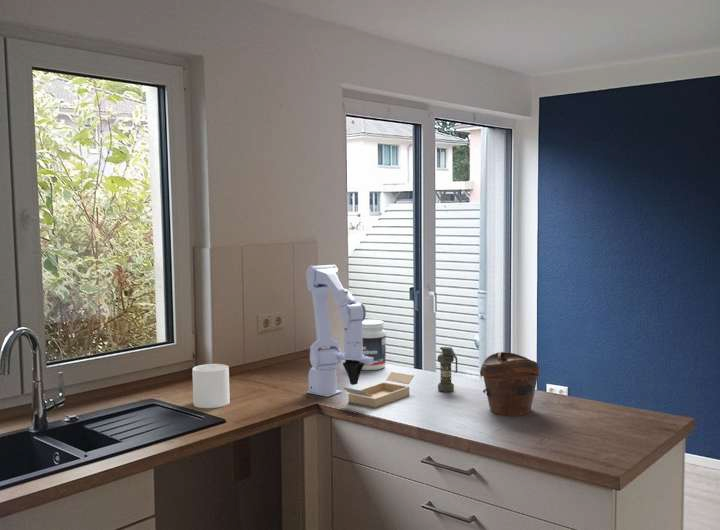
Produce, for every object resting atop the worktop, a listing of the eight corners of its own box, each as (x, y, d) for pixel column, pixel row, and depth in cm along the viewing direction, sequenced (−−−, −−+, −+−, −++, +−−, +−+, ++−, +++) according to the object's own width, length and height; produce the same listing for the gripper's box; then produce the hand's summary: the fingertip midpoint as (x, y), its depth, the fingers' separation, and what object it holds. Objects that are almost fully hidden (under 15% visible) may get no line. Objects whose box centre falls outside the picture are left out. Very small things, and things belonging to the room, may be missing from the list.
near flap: (349, 391, 235) (348, 393, 235) (342, 387, 232) (342, 388, 232) (372, 396, 229) (371, 397, 229) (365, 391, 226) (365, 392, 226)
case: (499, 398, 239) (499, 344, 237) (553, 410, 225) (553, 353, 223) (466, 410, 227) (465, 353, 225) (521, 423, 212) (521, 363, 211)
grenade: (436, 392, 248) (435, 348, 247) (441, 387, 254) (440, 345, 253) (454, 393, 246) (454, 350, 245) (458, 389, 252) (458, 346, 250)
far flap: (391, 371, 253) (391, 372, 253) (385, 379, 251) (386, 380, 251) (413, 375, 247) (414, 376, 247) (408, 383, 245) (408, 384, 245)
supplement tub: (351, 370, 282) (350, 324, 281) (356, 363, 295) (356, 319, 293) (383, 371, 280) (383, 324, 279) (387, 364, 293) (387, 319, 291)
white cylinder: (237, 403, 238) (236, 367, 237) (207, 410, 229) (206, 373, 228) (215, 396, 246) (214, 362, 245) (186, 404, 237) (185, 368, 236)
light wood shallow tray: (348, 402, 236) (348, 393, 236) (383, 390, 251) (383, 382, 251) (375, 408, 229) (375, 398, 229) (409, 395, 244) (409, 386, 244)
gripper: (327, 341, 229) (328, 383, 231) (363, 346, 220) (364, 390, 222) (342, 337, 235) (342, 378, 236) (377, 342, 226) (378, 385, 227)
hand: (353, 384), depth 229 cm, fingers closed
